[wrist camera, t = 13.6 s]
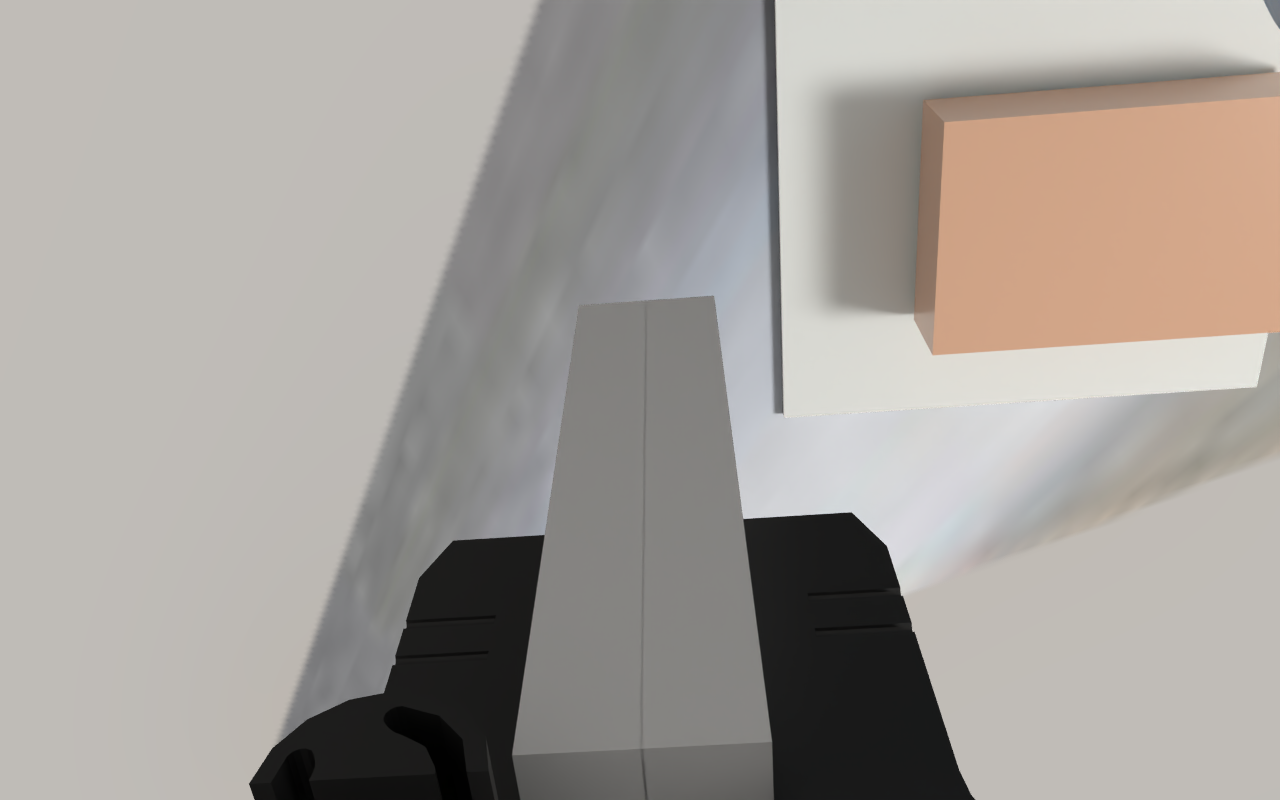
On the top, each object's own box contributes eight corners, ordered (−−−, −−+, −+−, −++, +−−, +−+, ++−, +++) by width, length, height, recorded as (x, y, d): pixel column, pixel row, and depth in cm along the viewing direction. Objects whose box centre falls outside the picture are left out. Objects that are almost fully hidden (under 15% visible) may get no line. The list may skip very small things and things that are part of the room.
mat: (774, -19, 35) (775, -17, 35) (1346, -67, 34) (1351, -66, 34) (783, 414, 43) (784, 417, 42) (1252, 383, 42) (1256, 386, 42)
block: (944, 121, 34) (1344, 91, 33) (920, 97, 37) (1286, 68, 36) (932, 355, 37) (1291, 330, 37) (911, 315, 40) (1242, 292, 40)
